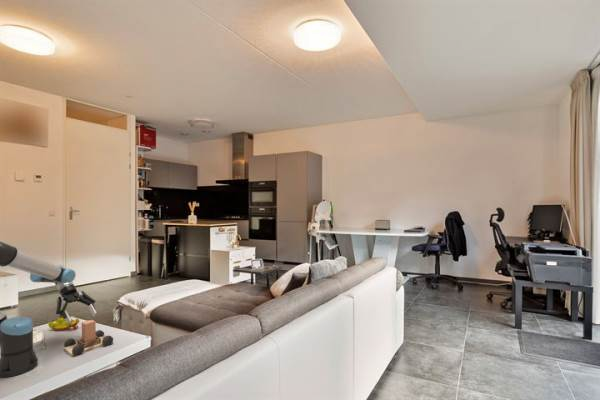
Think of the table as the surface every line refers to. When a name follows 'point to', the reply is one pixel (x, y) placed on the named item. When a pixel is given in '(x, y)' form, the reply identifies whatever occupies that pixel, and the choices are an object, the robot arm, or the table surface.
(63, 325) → the toy boat
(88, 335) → the pink rectangular block
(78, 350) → the chassis
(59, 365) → the table surface
